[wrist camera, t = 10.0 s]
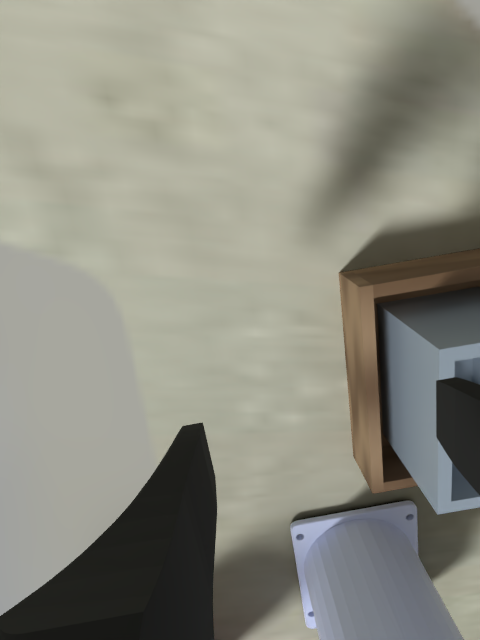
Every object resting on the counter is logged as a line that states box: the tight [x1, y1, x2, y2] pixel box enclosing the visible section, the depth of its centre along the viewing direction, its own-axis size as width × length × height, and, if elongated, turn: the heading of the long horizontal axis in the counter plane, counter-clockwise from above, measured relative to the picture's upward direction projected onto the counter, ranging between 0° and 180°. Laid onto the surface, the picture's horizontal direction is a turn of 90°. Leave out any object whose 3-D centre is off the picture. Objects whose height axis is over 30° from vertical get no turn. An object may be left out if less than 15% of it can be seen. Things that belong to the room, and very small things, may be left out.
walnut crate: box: [339, 248, 480, 494], centre depth 21 cm, size 11×9×4 cm
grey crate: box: [377, 286, 480, 515], centre depth 19 cm, size 8×5×6 cm
